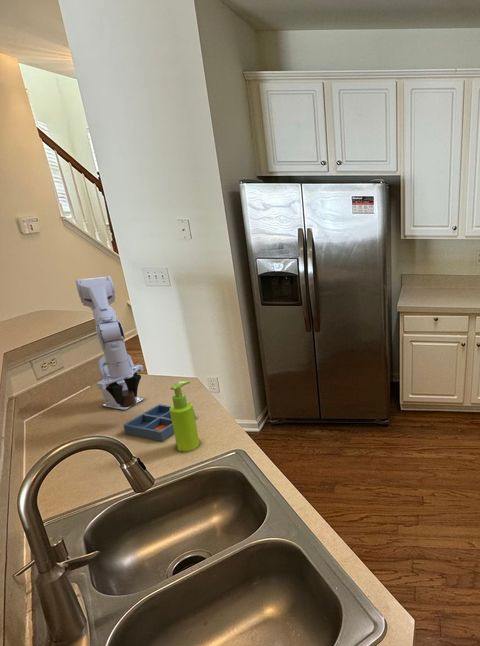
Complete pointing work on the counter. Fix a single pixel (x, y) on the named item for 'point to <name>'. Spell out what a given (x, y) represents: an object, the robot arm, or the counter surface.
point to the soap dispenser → (183, 420)
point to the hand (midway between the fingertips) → (127, 400)
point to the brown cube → (128, 398)
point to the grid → (152, 424)
